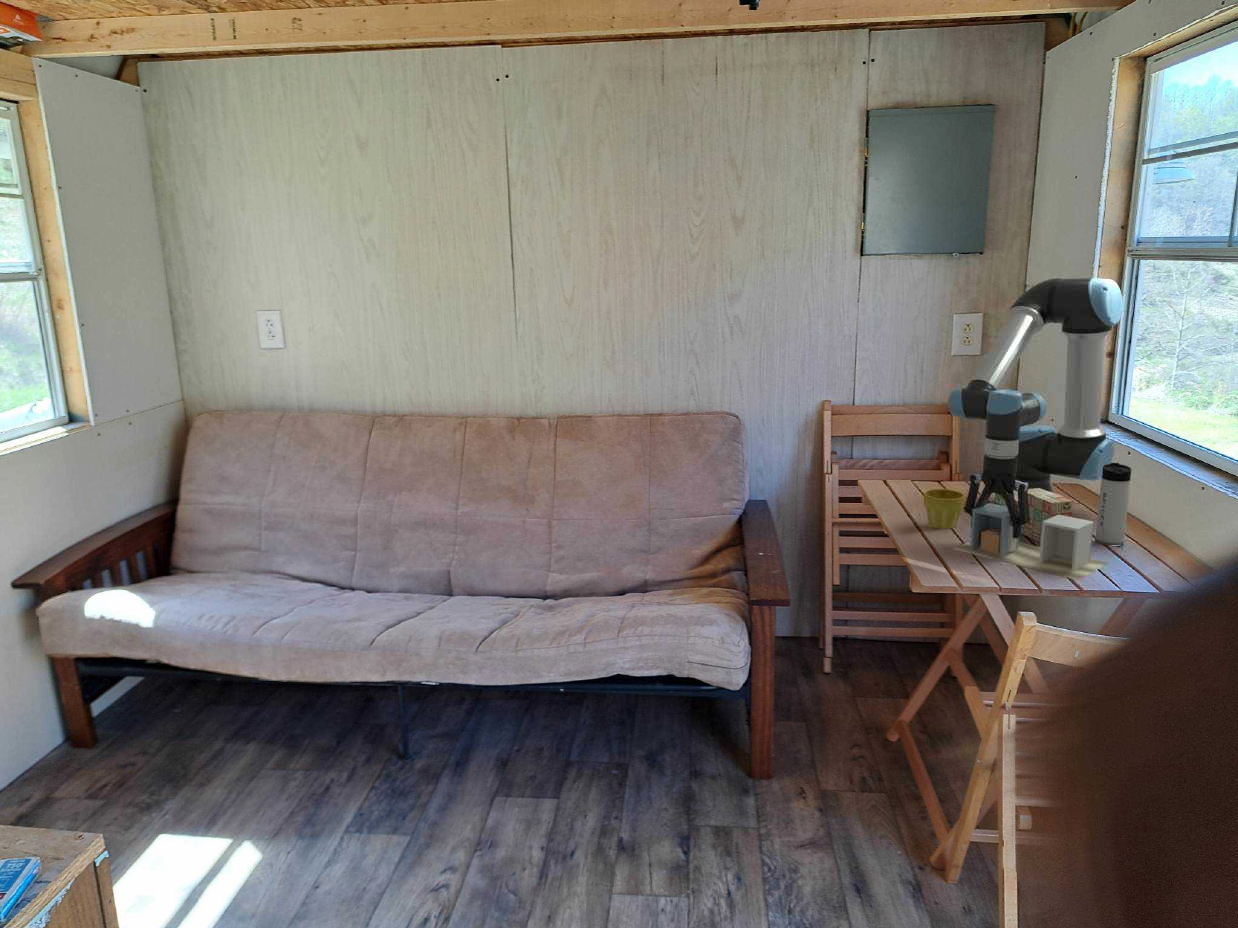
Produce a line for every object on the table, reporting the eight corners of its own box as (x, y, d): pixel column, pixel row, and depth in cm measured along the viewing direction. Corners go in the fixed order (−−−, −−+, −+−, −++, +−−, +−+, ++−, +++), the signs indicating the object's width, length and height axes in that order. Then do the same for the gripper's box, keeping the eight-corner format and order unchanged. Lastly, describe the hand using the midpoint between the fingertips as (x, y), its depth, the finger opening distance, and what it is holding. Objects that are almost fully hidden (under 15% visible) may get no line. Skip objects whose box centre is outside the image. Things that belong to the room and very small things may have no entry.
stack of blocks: (992, 525, 237) (995, 481, 235) (1012, 523, 239) (1016, 479, 236) (1047, 549, 217) (1051, 501, 214) (1069, 547, 218) (1073, 499, 216)
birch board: (985, 538, 226) (985, 534, 226) (1108, 566, 204) (1108, 562, 204) (952, 552, 217) (952, 548, 216) (1077, 584, 194) (1078, 580, 194)
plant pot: (966, 535, 229) (968, 499, 227) (924, 533, 232) (926, 497, 229) (959, 523, 239) (961, 488, 237) (919, 522, 241) (921, 487, 239)
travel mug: (1120, 539, 222) (1128, 463, 218) (1125, 548, 216) (1134, 469, 212) (1092, 538, 224) (1100, 461, 220) (1097, 546, 218) (1105, 467, 214)
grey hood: (1054, 554, 210) (1058, 514, 208) (1089, 562, 204) (1093, 521, 202) (1038, 562, 205) (1042, 521, 203) (1074, 571, 199) (1078, 529, 197)
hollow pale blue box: (986, 541, 221) (989, 503, 219) (1017, 548, 215) (1021, 509, 213) (970, 548, 216) (972, 509, 214) (1001, 556, 210) (1004, 516, 208)
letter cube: (989, 544, 218) (991, 526, 217) (1007, 548, 215) (1008, 530, 214) (980, 548, 216) (981, 530, 215) (998, 553, 212) (999, 534, 211)
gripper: (952, 451, 216) (946, 539, 221) (1036, 465, 200) (1029, 559, 205) (968, 446, 220) (962, 533, 225) (1052, 459, 204) (1044, 552, 210)
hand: (994, 545), depth 215 cm, fingers closed on hollow pale blue box, 8 cm apart
